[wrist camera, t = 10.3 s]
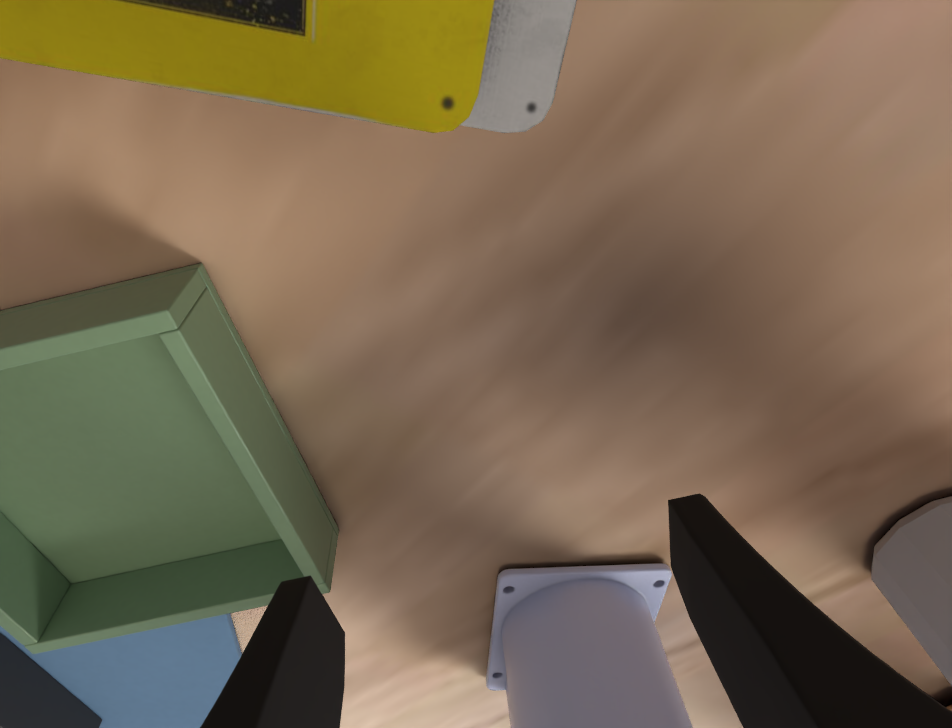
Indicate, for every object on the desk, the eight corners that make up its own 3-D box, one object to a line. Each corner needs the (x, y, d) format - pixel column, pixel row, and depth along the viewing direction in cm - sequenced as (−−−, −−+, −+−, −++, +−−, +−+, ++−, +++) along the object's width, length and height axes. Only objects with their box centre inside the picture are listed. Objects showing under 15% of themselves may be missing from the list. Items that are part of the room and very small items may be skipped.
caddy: (339, 529, 24) (331, 592, 22) (71, 586, 25) (33, 655, 22) (202, 262, 18) (166, 309, 15) (-163, 348, 18) (-255, 408, 16)
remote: (103, 719, 30) (75, 786, 27) (40, 732, 30) (6, 800, 27) (0, 630, 25) (-46, 702, 23) (-74, 646, 26) (-127, 719, 23)
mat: (269, 749, 34) (268, 756, 33) (-156, 776, 31) (-162, 785, 31) (225, 596, 26) (223, 604, 26) (-340, 619, 24) (-350, 628, 24)
